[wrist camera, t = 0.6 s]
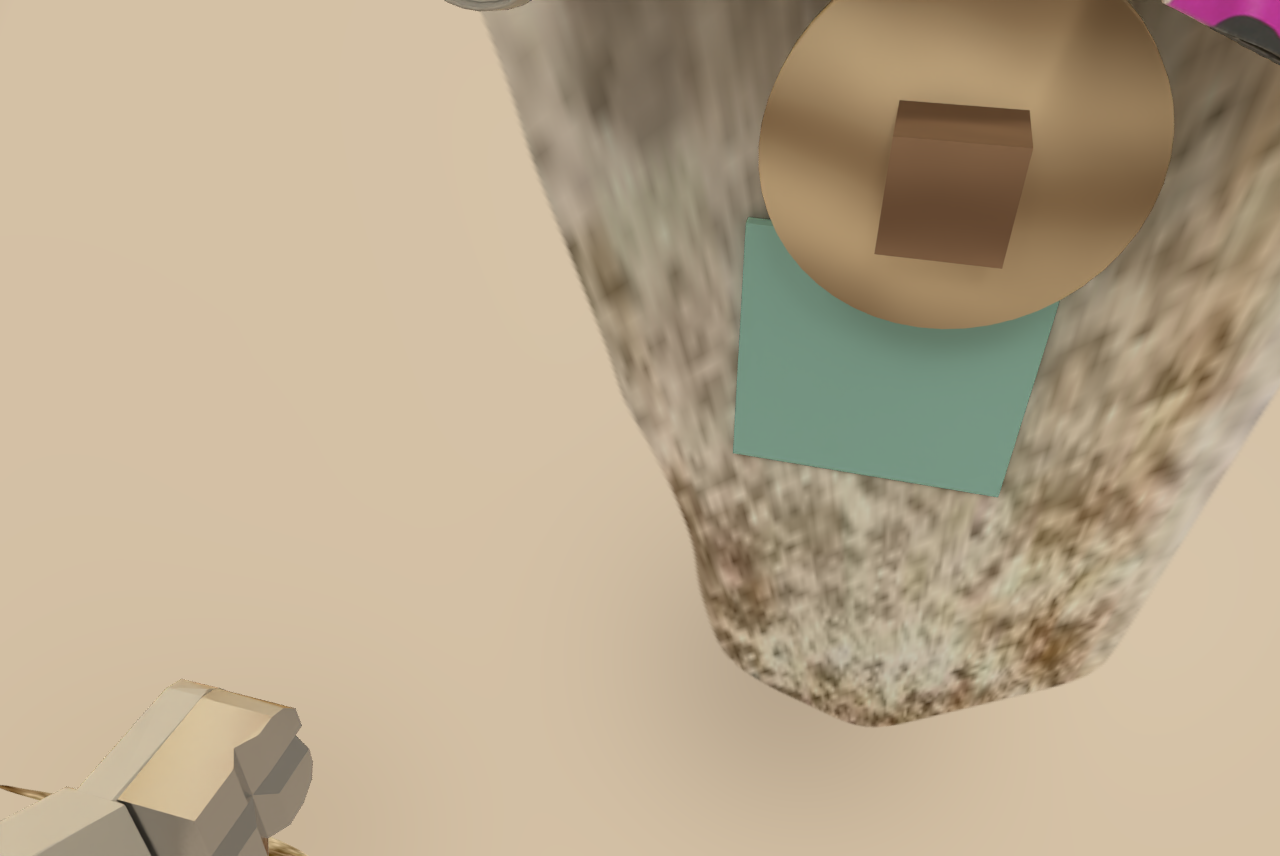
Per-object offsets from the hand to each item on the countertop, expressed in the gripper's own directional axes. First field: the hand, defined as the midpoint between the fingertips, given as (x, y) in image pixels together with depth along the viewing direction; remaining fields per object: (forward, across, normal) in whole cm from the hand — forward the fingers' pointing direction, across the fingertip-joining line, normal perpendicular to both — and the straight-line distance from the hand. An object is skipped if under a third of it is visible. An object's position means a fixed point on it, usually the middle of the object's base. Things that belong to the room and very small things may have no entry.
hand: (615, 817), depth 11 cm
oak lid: (+27, -4, 0) cm, 28 cm away
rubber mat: (+34, -3, +13) cm, 37 cm away
